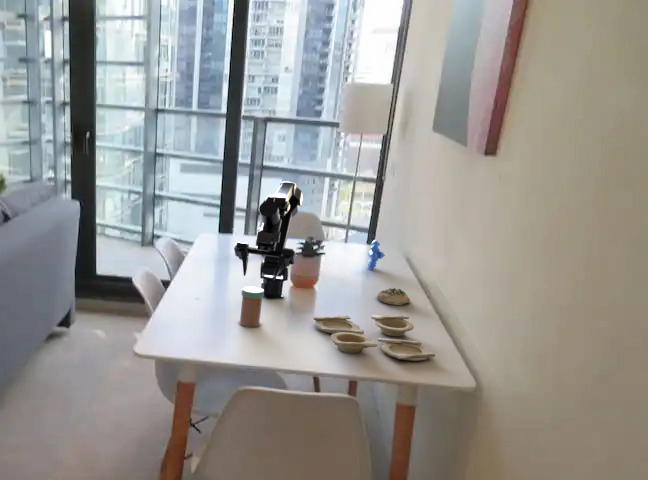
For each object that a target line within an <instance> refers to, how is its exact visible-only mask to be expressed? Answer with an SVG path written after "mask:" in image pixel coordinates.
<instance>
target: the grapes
mask: <svg viewBox="0 0 648 480" xmlns="http://www.w3.org/2000/svg"><path fill="white" fill-rule="evenodd" d="M370 245H371V246H370V248H369V249H370V251H369V252H367V256H368V257H369V260H368V261H367V263H368V264H367V266H368V268H369V269H370V270H373V269H374V268H376V267H377V264H378V263H377V262H378V261H379V260H381V259H383V258H384V257H385V256H386V255H385V254H384V252H383V251H381V249H380V248H379V247H380V245H381V244H380V242H379V240H377V239H374V240H373V241H372V242H371V243H370Z"/></svg>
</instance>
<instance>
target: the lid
mask: <svg viewBox="0 0 648 480" xmlns="http://www.w3.org/2000/svg"><path fill="white" fill-rule="evenodd" d="M240 294H241V297H242V296H243V297H246V298H251V299H260V298H262V299H263V298H265V297H264V290H263V289H262V288H261V287H258V286H244V287H242V288H241V293H240Z"/></svg>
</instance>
